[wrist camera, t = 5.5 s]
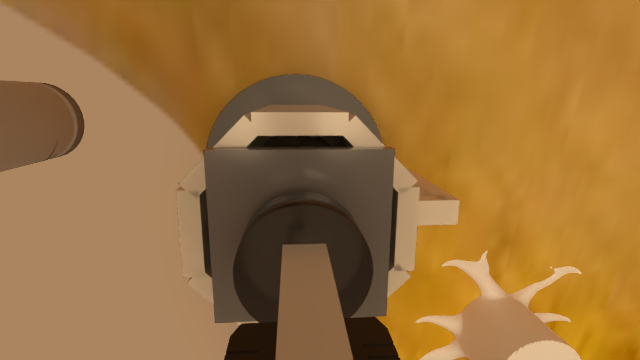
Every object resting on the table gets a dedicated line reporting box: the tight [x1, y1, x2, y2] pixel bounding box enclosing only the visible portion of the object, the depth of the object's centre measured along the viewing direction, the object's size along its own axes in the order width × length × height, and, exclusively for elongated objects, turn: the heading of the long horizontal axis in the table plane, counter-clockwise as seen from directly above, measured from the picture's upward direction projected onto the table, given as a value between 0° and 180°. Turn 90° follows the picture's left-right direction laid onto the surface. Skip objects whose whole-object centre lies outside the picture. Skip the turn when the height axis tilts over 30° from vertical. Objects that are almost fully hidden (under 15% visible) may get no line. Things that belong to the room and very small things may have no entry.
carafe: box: [176, 104, 460, 326], centre depth 24 cm, size 11×14×17 cm
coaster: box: [207, 74, 383, 148], centre depth 33 cm, size 16×16×1 cm
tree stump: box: [416, 251, 582, 360], centre depth 35 cm, size 20×19×8 cm
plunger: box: [233, 136, 373, 323], centre depth 21 cm, size 7×7×17 cm
